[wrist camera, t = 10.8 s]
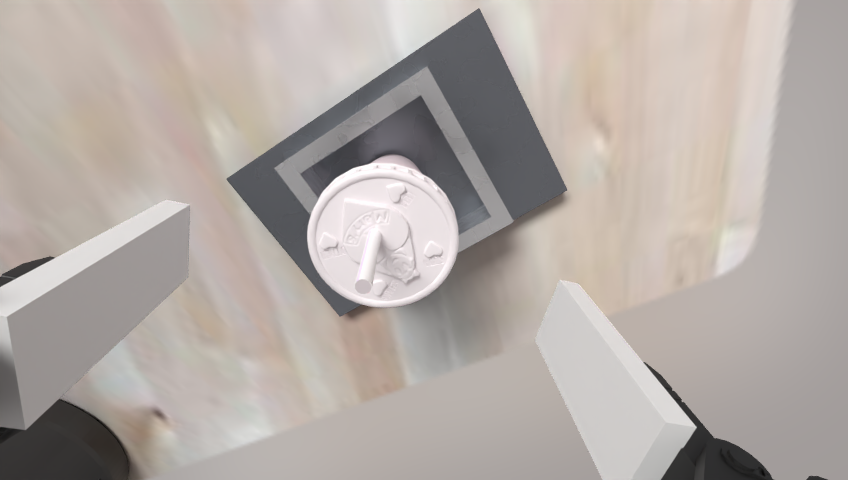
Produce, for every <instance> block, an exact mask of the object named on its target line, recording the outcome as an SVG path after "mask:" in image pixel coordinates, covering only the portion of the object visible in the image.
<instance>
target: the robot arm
mask: <svg viewBox="0 0 848 480" xmlns="http://www.w3.org/2000/svg"><path fill="white" fill-rule="evenodd" d="M189 225H190V205H189V204H185V203H180V202H175V201H170V200H164V201H162V202H160V203H158V204H156V205H155V206H153V207H151V208H149V209H147V210H145V211H143V212H141V213H139V214H138V215H136V216H134V217H132V218H130V219H128V220H126V221H124V222H122V223H120V224H119V225H117V226H115V227H113V228H111V229H109V230H107V231H105V232H103V233H102V234H100V235H98V236H96V237H94V238H92V239H90V240H88V241H86V242H85V243H83V244H81V245H79V246H77V247H75V248H73V249H71V250H69V251H68V252H66V253H64V254H62V255H60V256H58V257H56V258H55V257H46V258H42V259H39V260H35V261H31V262H28V263H24V264H22V265H20V266H18V267H16V268H14V269H12V270H10V271H8V272H6V273H4V274H2V276H1V277H0V480H128V472H129V471H128V463H127V459H126V456H125V454H124V452H123V449H122V448H121V446H120V444H119V443H118V442H117V440H116V439H115V438H114V436H113V435H112V434H111V433H110V432H109V431H108V430H107V429H106V428H105V427H104V426H103V425H102V424H100V423H99V422H98V421H97V420H95V419H94V418H93V417H91V416H90V415H88V414H87V413H85V412H83V411H82V410H80V409H78V408H76V407H74V406H72V405H70V404H68V403H65V402H63V401H61V400H58V399H59V398H60V397H61V396H62V395H63V394H65V393H66V392H67V391H68V390H69V389H70V388H71V387H72V386H73V385H74V384H75V383H76V382H77V381H78V380H79V379H80V378H82V377H83V376H84V375H85V374H86V373H87V372H88V371H89V370H90V369H91V368H92V367H93V366H94V365H95V364H96V363H97V362H99V361H100V360H101V359H102V358H103V357H104V356H105V355H106V354H107V353H108V352H109V351H110V350H111V349H112V348H113V347H114V346H116V345H117V344H118V343H119V342H120V341H121V340H122V339H123V338H124V337H125V336H126V335H127V334H128V333H129V332H130V331H132V330H133V329H134V328H135V327H136V326H137V325H138V324H139V323H140V322H141V321H142V320H143V319H144V318H145V317H146V316H147V315H149V314H150V313H151V312H152V311H153V310H154V309H155V308H156V307H157V306H158V305H159V304H160V303H161V302H162V301H163V300H164V299H166V298H167V297H168V296H169V295H170V294H171V293H172V292H173V291H174V290H175V289H176V288H177V287H178V286H179V285H180V284H181V283H183V282H184V281H185V280H186V279H187V278H188V262H189ZM535 342H536V344H537V346H538V348H539V350H540V352H541V354H542V356H543V358H544V360H545V362H546V364H547V366H548V368H549V370H550V373H551V375H552V377H553V379H554V381H555V383H556V385H557V387H558V389H559V391H560V393H561V395H562V397H563V400H564V401H565V403H566V406H567V408H568V410H569V412H570V414H571V416H572V418H573V420H574V422H575V424H576V426H577V428H578V430H579V433H580V435H581V437H582V438H583V441H584V443H585V445H586V447H587V449H588V451H589V453H590V455H591V457H592V459H593V461H594V463H595V466H596V468H597V470H598V472H599V474H600V476H601V478H602V480H773V479H772V477H771V475H770V473H769V472H768V471H767V470H766V468H765V467H764V466H763V465H762V464H761V463H760V462H759V461H758V460H757V459H755V458H754V457H753V456H752V455H750V454H749V453H748V452H746V451H745V450H743V449H742V448H740V447H739V446H736V445H734V444H732V443H730V442H727V441H725V440H721V439H717V438H716V439H715V438H713V436H712V435H711V434H710V433H709V431H708V430H707V429H706V428H705V427H704V426H703V424H702V423H701V422H700V421H699V420H698V418H697V417H696V416H695V415H694V414H693V413H692V411H691V410H690V409H689V408H688V407H687V405H686V404H685V403H684V402H681V400H682V399H681V398H680V397H679V396H678V395H677V393H676V392H675V391H672V388H671V386H670V385H669V384H668V383H667V382H666V380H665V379H664V378H663V377H662V376H661V375H660V374H659V373H658V372H656V371H655V370H654V369H653V368H651V367H650V366H649V365H648V364H646V363H645V362H643V361H642V360H641V359H640V358H639V357H638V355H637V354H636V353H635V352H634V351H633V349H632V348H631V347H630V346H629V344H628V343H627V342H626V341H625V340H624V338H623V337H622V336H621V335H620V333H619V332H618V331H617V330H616V329H615V327H614V326H613V325H612V324H611V323H610V321H609V320H608V319H607V318H606V316H605V315H604V314H603V313H602V312H601V310H600V309H599V308H598V307H597V305H596V304H595V303H594V302H593V301H592V299H591V298H590V297H589V296H588V295H587V293H586V292H585V291H584V290H583V288H582V287H581V286H580V285H579V284H578V283H573V282H568V281H563V280H559V282H558V285H557V287H556V289H555V292H554V294H553V297H552V299H551V302H550V304H549V306H548V309H547V311H546V314H545V316H544V319H543V321H542V323H541V326H540V328H539V331H538V333H537V336H536V338H535ZM807 480H827V479H824V478H821V477H819V476H809V477H808V479H807Z"/></svg>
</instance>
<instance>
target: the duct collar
mask: <svg viewBox="0 0 848 480" xmlns="http://www.w3.org/2000/svg"><path fill="white" fill-rule="evenodd" d="M389 154H396V155H401V156H404V157H406V158H408V159H410V160H411V161H412V162H413V163H414V164H415V165H416V166H417V167H418V169H419V170H420V172H421V173H422V174H423V175H425V176H427V177H428V178H430V179H432V180H433V181H434V182H435V184H436V185H437V186H438V187H439V188H440V189H441V190H442V191H443V192H444V193H445V194H446V196H447V198H448V199H449V201H450V203H451V205H452V207H453V209H454V211H455V215H456V220H457V224H458V236H459V246H458V253H459V252H461V251H463V250H464V249H466V248H468V247H470V246H472V245H473V244H475V243H477V242H479V241H481V240H482V239H484V238H486V237H488V236H490V235H491V234H493V233H495V232H497V231H499V230H500V229H502V228H504V227H506V226H508V225H509V224H511V223H513V222H514V221H513V220H515V219H516V218H518V217H520V216H522V215H524V214H525V213H527V212H529V211H531V210H533V209H534V208H536V207H538V206H540V205H542V204H543V203H545V202H547V201H549V200H551V199H552V198H554V197H556V196H558V195H560V194H561V193H563V192H565V191H567V188H566V186H565V184H564V182H563V180H562V178H561V176H560V174H559V172H558V170H557V168H556V166H555V163H554V161H553V159H552V157H551V155H550V153H549V151H548V149H547V147H546V145H545V143H544V141H543V139H542V137H541V135H540V133H539V130H538V128H537V126H536V124H535V122H534V120H533V118H532V116H531V114H530V112H529V110H528V108H527V106H526V104H525V102H524V100H523V97H522V95H521V93H520V91H519V89H518V87H517V85H516V83H515V81H514V79H513V77H512V75H511V73H510V71H509V69H508V66H507V64H506V62H505V60H504V58H503V56H502V54H501V52H500V50H499V48H498V46H497V44H496V42H495V40H494V38H493V36H492V33H491V31H490V29H489V27H488V25H487V23H486V21H485V19H484V17H483V15H482V13H481V11H480V9H477V10H476V11H474V12H473V13H471V14H470V15H468V16H467V17H465V18H464V19H462V20H461V21H459V22H458V23H456V24H455V25H453V26H452V27H451V28H449V29H448V30H446V31H445V32H443V33H442V34H440V35H439V36H437V37H436V38H434V39H433V40H431V41H430V42H428V43H427V44H425V45H424V46H422V47H421V48H419V49H418V50H416V51H415V52H414V53H412V54H411V55H409V56H408V57H406V58H405V59H403V60H402V61H400V62H399V63H397V64H396V65H394V66H393V67H391V68H390V69H388V70H387V71H385V72H384V73H382V74H381V75H379V76H378V77H377V78H375V79H374V80H372V81H371V82H369V83H368V84H366V85H365V86H363V87H362V88H360V89H359V90H357V91H356V92H354V93H353V94H351V95H350V96H348V97H347V98H345V99H344V100H342V101H341V102H340V103H338V104H337V105H335V106H334V107H332V108H331V109H329V110H328V111H326V112H325V113H323V114H322V115H320V116H319V117H317V118H316V119H314V120H313V121H311V122H310V123H308V124H307V125H305V126H304V127H302V128H301V129H300V130H298V131H297V132H295V133H294V134H292V135H291V136H289V137H288V138H286V139H285V140H283V141H282V142H280V143H279V144H277V145H276V146H274V147H273V148H271V149H270V150H268V151H267V152H265V153H264V154H263V155H261V156H260V157H258V158H257V159H255V160H254V161H252V162H251V163H249V164H248V165H246V166H245V167H243V168H242V169H240V170H239V171H237V172H236V173H234V174H233V175H231V176H230V177H228V178H227V181H228V182H229V183H230V184H231V185H232V187H233V188H234V189H235V190H236V191H237V193H238V194H239V195H240V196H241V198H242V199H243V200H244V201H245V202H246V204H247V205H248V206H249V207H250V208H251V210H252V211H253V212H254V213H255V214H256V216H257V217H258V218H259V219H260V221H261V222H262V223H263V224H264V225H265V227H266V228H267V229H268V230H269V231H270V233H271V234H272V235H273V236H274V237H275V239H276V240H277V241H278V242H279V244H280V245H281V246H282V247H283V248H284V250H285V251H286V252H287V253H288V254H289V256H290V257H291V258H292V259H293V260H294V262H295V263H296V264H297V265H298V267H299V268H300V269H301V270H302V271H303V273H304V274H305V275H306V276H307V277H308V279H309V280H310V281H311V282H312V283H313V285H314V286H315V287H316V288H317V290H318V291H319V292H320V293H321V294H322V296H323V297H324V298H325V299H326V300H327V302H328V303H329V304H330V305H331V306H332V308H333V309H334V310H335V311H336V313H337V314H338V315H339V316H342V315H344V314H346V313H347V312H349V311H351V310H353V309H355V308H356V307H358V306H360V305H362V304H359V303H356V302H353V301H351V300H349V299H347V298H345V297H343V296H342V295H340V294H339V293H337V292H336V291H334V290H333V289H332V288H331V287H330V286H329V285H328V284H327V283H326V282H325V281H324V280H323V279H322V277H321V276H320V275H319V273H318V272H317V270H316V268H315V266H314V264H313V262H312V260H311V257H310V254H309V249H308V242H307V231H308V224H309V219H310V216H311V213H312V211H313V209H314V207H315V205H316V203H317V201H318V199H319V197H320V195H321V194H322V192H323V191H324V190H325V189H326V188H327V187H328V186H329V185H330V184H331V183H332V182H333V180H334V179H335V178H337V177H339V176H340V175H342V174H344V173H346V172H347V171H349V170H351V169H353V168H356V167H360V166H364V165H368V164H370V163H372V162H373V161H374V160H376V159H377V158H379V157H381V156H384V155H389Z"/></svg>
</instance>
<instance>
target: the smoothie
mask: <svg viewBox="0 0 848 480" xmlns="http://www.w3.org/2000/svg"><path fill="white" fill-rule="evenodd" d="M307 242H308V249H309V254H310V257H311V260H312V262H313V264H314V266H315V268H316V270H317V272H318V273H319V275H320V276H321V277H322V279H323V280H324V281H325V282H326V283H327V284H328V285H329V286H330V287H331V288H332V289H333V290H334V291H336V292H337V293H339V294H340V295H342V296H343V297H345V298H347V299H349V300H351V301H353V302H356V303H359V304H362V305H365V306H370V307H377V308H392V307H400V306H405V305H408V304H411V303H414V302H417V301H419V300H421V299H423V298H424V297H426V296H428V295H429V294H431V293H432V292H433V291H435V290H436V289H437V288H438V287H439V286H440V285H441V284H442V283H443V282H444V280H445V279H446V278H447V276H448V275H449V273H450V272H451V270H452V268H453V266H454V263H455V260H456V257H457V253H458V246H459V236H458V224H457V220H456V215H455V211H454V209H453V207H452V205H451V203H450V201H449V199H448V198H447V196H446V194H445V193H444V192H443V191H442V190H441V189H440V188H439V187H438V186H437V185H436V184H435V182H434V181H433V180H432V179H430V178H428V177H427V176H425V175H423V174H422V173H421V172H420V170H419V169H418V167H417V166H416V165H415V164H414V163H413V162H412V161H411V160H410V159H408V158H406V157H404V156H401V155H396V154H389V155H384V156H381V157H379V158H377V159H376V160H374V161H373V162H372V163H370V164H368V165H364V166H360V167H356V168H353V169H351V170H349V171H347V172H346V173H344V174H342V175H340V176H339V177H337V178H335V179H334V180H333V182H332V183H331V184H330V185H329V186H328V187H327V188H326V189H325V190H324V191H323V192H322V194H321V195H320V197H319V199H318V201H317V203H316V205H315V207H314V209H313V211H312V213H311V216H310V219H309V224H308V231H307Z"/></svg>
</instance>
